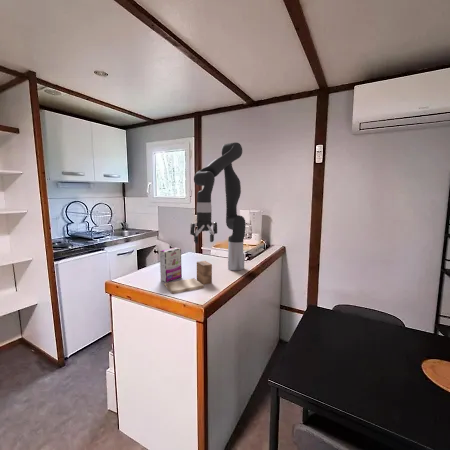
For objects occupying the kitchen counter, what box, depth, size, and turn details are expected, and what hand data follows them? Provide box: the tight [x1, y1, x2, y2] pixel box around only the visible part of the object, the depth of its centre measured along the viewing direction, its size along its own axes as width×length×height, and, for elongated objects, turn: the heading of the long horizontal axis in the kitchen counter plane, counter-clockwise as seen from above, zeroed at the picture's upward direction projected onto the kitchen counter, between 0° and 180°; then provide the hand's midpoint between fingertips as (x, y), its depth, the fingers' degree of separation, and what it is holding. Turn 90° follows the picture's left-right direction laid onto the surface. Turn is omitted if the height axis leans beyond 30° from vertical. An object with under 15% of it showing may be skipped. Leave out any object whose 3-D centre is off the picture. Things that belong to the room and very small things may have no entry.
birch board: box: [164, 277, 205, 294], centre depth 127 cm, size 16×12×1 cm
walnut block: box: [196, 260, 213, 285], centre depth 134 cm, size 5×8×10 cm, turn 30°
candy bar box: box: [159, 246, 183, 283], centre depth 137 cm, size 11×5×16 cm, turn 143°
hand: (204, 242), depth 132 cm, fingers open, 8 cm apart
